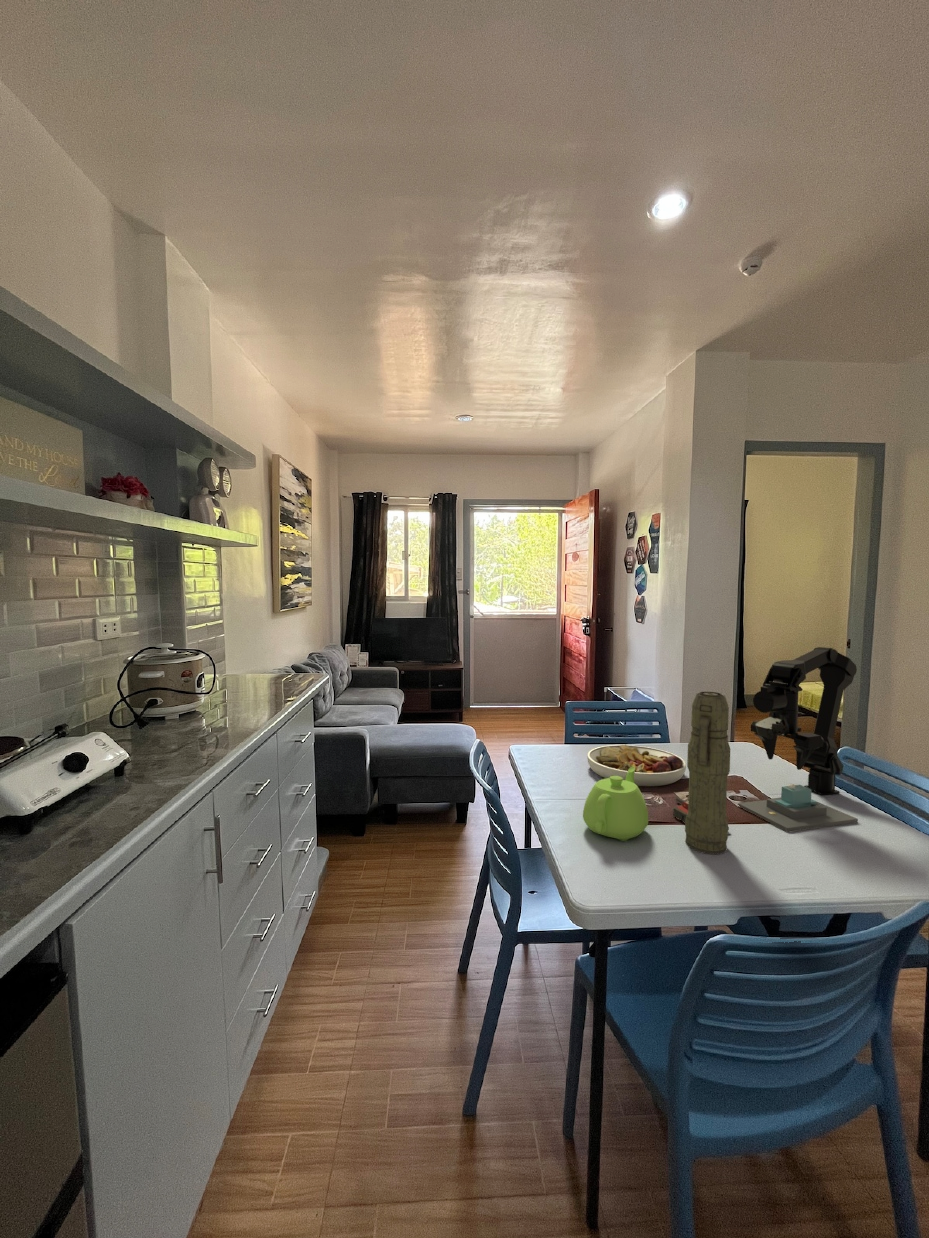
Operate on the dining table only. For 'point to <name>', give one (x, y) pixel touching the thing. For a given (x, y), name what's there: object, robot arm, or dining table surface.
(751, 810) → the plate
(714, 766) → the thermos
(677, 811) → the walkie-talkie
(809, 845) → the dining table surface
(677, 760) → the bowl
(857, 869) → the dining table surface
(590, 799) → the teapot
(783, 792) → the servo
